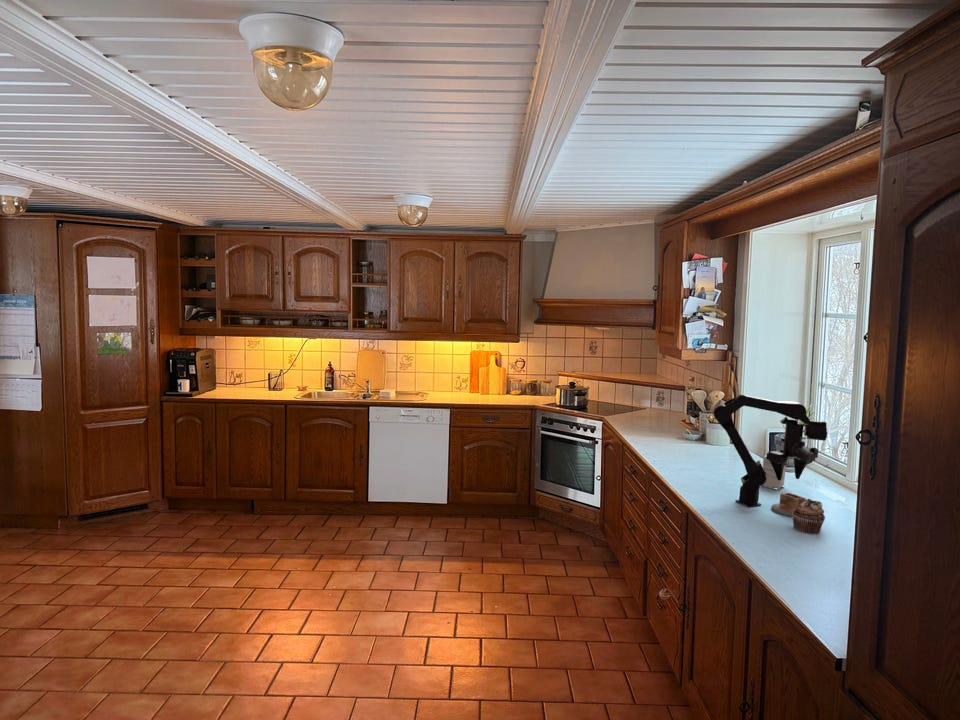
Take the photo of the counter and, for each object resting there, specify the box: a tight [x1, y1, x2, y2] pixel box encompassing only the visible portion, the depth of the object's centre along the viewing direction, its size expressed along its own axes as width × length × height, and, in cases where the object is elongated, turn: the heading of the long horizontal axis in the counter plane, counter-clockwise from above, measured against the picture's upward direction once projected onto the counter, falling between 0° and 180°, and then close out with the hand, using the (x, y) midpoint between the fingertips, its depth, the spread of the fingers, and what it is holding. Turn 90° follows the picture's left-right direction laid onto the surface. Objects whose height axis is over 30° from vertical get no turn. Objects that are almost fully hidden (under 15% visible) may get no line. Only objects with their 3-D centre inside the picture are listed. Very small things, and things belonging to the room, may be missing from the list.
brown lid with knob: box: [771, 503, 793, 518], centre depth 235 cm, size 13×13×4 cm
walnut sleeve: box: [778, 492, 806, 512], centre depth 235 cm, size 7×4×5 cm, turn 27°
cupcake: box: [792, 498, 826, 535], centre depth 216 cm, size 10×10×10 cm
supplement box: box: [761, 454, 787, 490], centre depth 268 cm, size 7×7×13 cm
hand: (788, 479), depth 238 cm, fingers open, 9 cm apart
